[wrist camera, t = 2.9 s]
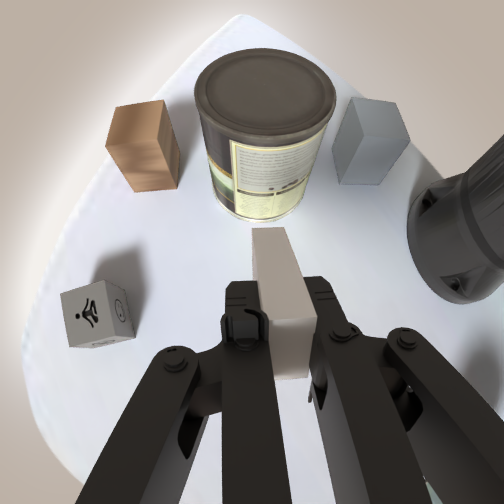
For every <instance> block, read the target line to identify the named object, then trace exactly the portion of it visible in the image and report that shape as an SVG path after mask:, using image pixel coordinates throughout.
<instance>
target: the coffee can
mask: <svg viewBox="0 0 504 504" xmlns="http://www.w3.org/2000/svg"><path fill="white" fill-rule="evenodd" d="M194 97H195V102H196V106H197V108H198V111H199V115H200V120H201V125H202V131H203V136H204V141H205V146H206V151H207V157H208V162H209V167H210V172H211V177H212V186H213V191H214V194H215V197H216V199H217V200H218V202H219V203H220V205H221V206H222V207H223V208H224V209H225V210H226V211H227V212H229V213H230V214H231V215H233V216H235V217H237V218H239V219H241V220H245V221H248V222H255V223H264V222H271V221H276V220H278V219H280V218H283V217H285V216H286V215H288V214H289V213H291V212H292V211H293V210H294V209H295V208H296V207H297V206H298V204H299V203H300V201H301V200H302V198H303V195H304V192H305V187H306V184H307V181H308V178H309V176H310V173H311V170H312V167H313V164H314V161H315V159H316V156H317V153H318V150H319V147H320V144H321V141H322V138H323V135H324V132H325V129H326V126H327V123H328V121H329V120H330V118H331V117H332V114H333V112H334V109H335V106H336V92H335V88H334V86H333V84H332V82H331V80H330V79H329V77H328V76H327V75H326V74H325V72H324V71H323V70H322V69H320V68H319V67H318V66H317V65H316V64H314V63H313V62H311V61H309V60H307V59H306V58H304V57H301V56H299V55H297V54H294V53H290V52H287V51H283V50H277V49H269V48H255V49H246V50H241V51H236V52H233V53H229V54H227V55H224V56H222V57H220V58H218V59H217V60H215V61H213V62H212V63H211V64H209V65H208V66H207V67H206V68H205V69H204V70H203V72H202V73H201V74H200V75H199V77H198V79H197V81H196V84H195V88H194Z"/></svg>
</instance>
